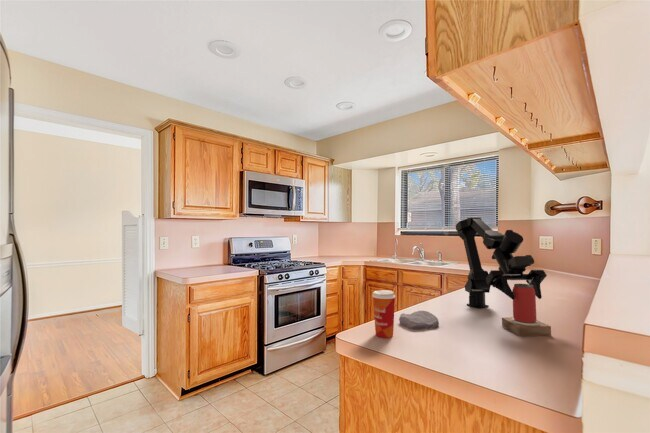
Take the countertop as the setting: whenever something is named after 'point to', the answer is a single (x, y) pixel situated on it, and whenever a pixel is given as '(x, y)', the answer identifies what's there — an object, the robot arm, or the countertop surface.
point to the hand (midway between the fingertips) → (527, 298)
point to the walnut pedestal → (526, 327)
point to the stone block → (419, 320)
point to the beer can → (524, 303)
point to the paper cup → (384, 313)
